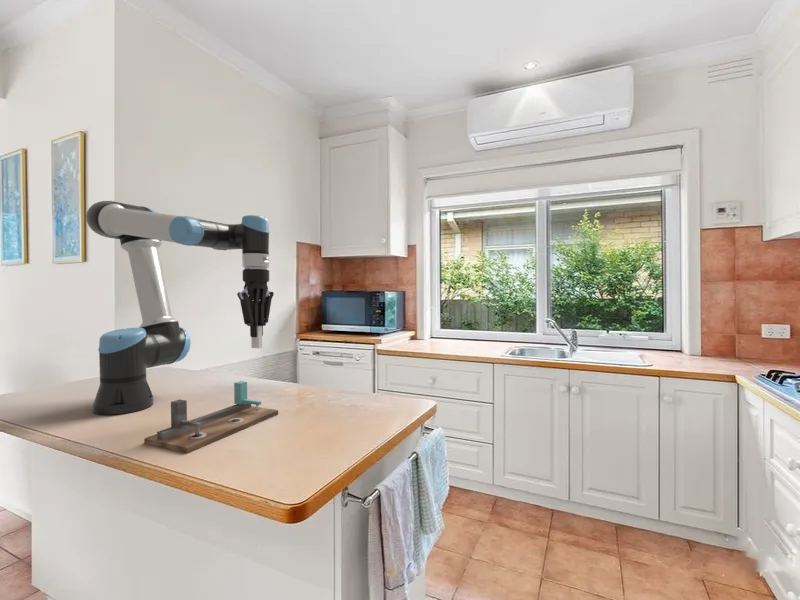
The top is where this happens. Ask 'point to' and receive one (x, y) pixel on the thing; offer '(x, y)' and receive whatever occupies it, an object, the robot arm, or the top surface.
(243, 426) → the board
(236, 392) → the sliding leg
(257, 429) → the top surface
